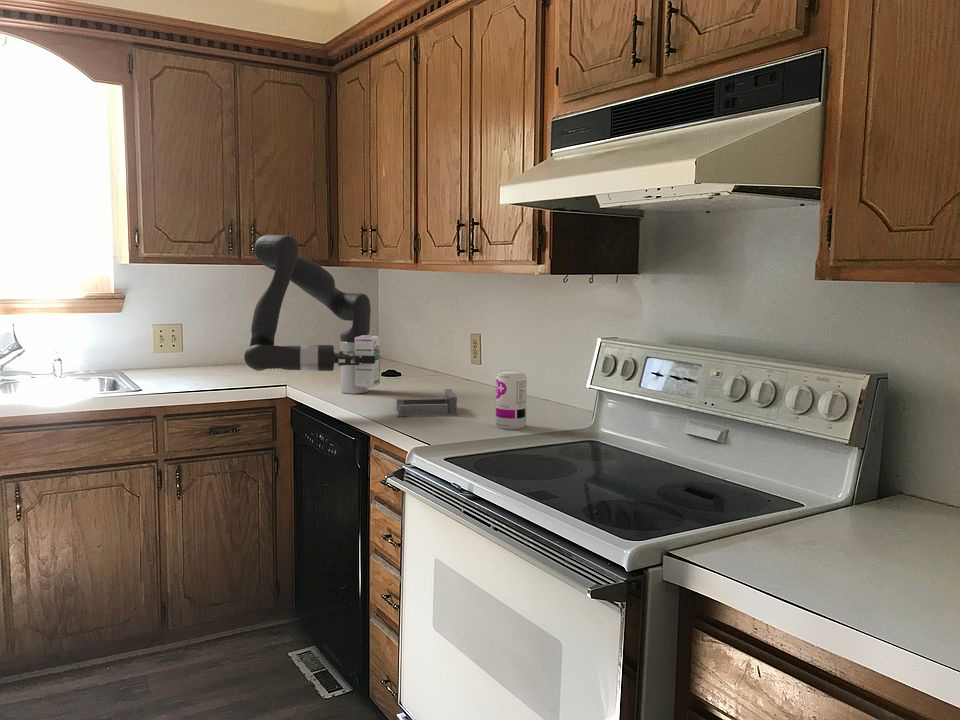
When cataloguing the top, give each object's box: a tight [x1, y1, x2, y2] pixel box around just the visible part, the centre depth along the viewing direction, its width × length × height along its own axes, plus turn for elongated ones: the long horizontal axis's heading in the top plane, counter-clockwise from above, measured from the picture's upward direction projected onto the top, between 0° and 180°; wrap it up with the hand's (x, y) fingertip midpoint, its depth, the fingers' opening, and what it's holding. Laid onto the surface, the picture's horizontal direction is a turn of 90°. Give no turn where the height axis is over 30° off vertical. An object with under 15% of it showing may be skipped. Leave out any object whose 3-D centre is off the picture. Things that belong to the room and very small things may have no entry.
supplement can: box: [495, 369, 528, 431], centre depth 219 cm, size 8×8×15 cm
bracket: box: [395, 388, 458, 418], centre depth 240 cm, size 14×17×6 cm
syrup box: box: [355, 334, 381, 388], centre depth 235 cm, size 6×6×14 cm
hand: (374, 358), depth 236 cm, fingers closed on syrup box, 7 cm apart
